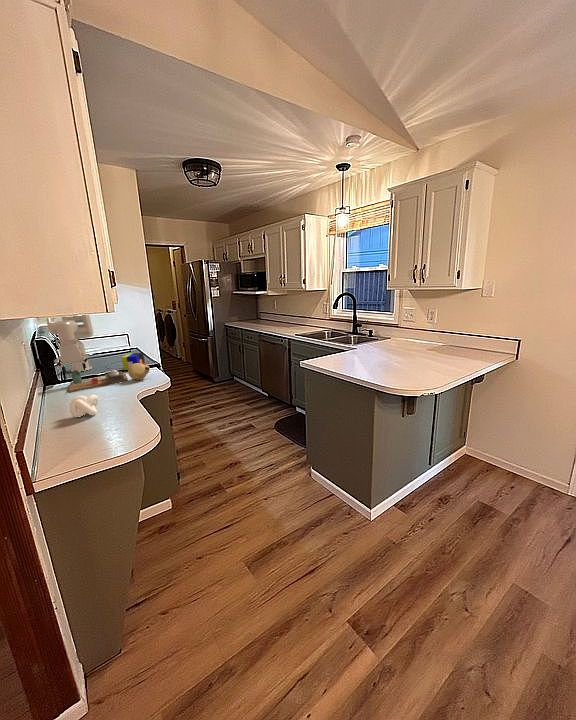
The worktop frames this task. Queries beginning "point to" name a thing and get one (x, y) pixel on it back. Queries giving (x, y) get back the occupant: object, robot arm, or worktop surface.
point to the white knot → (83, 405)
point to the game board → (98, 382)
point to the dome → (113, 373)
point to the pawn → (76, 377)
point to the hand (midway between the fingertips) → (75, 371)
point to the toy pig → (138, 371)
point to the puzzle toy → (132, 359)
